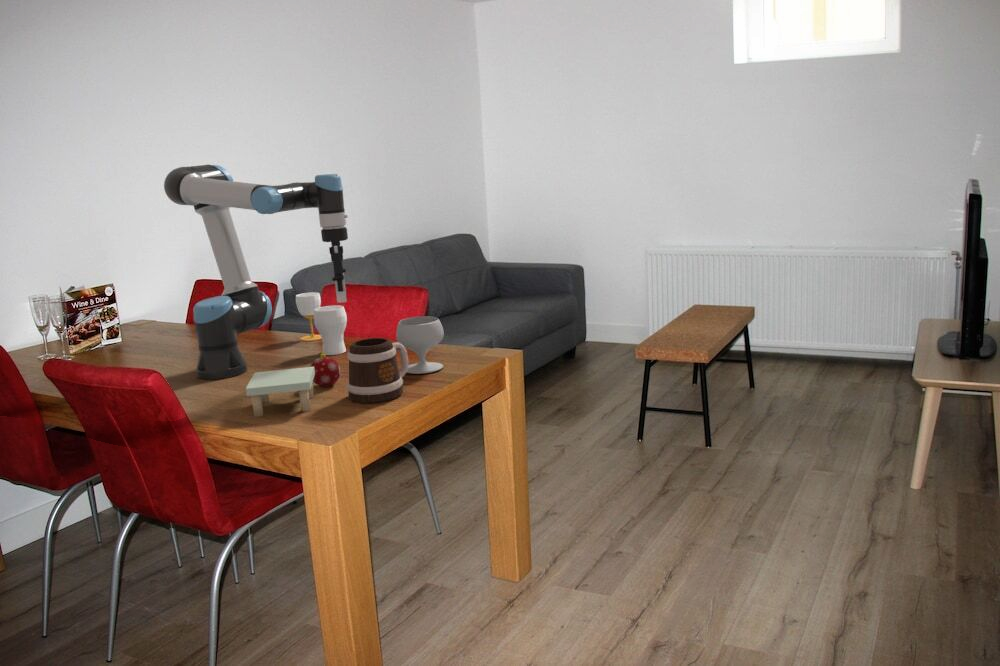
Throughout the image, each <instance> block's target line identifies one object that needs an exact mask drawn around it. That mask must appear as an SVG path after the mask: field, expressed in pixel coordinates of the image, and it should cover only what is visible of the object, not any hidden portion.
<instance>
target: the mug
mask: <svg viewBox="0 0 1000 666" xmlns="http://www.w3.org/2000/svg"><path fill="white" fill-rule="evenodd" d="M397 351H398V352H399V354H400V356H399V357H400V364H401V367H400V370H399V366H398V362H397V357H396V355H397ZM346 358H347V359H348V382H347V385H346V389H347V391H348V398H349V399H350V400H351V401H352V402H354V401H355V403H357V402H358V404H377V403H376V402H379V403H383V402H384V401H385V402H388V401H393V400H395V399H397V398H398V397H400V396H401V395H402V394H403V391H404V387H403V384H404V379H403V377H405V375H406V374H407V373H406V372H407V370H408V366H409V356H408V351H407V348H405V347H404V346H403V345H402V344H400V343H399V342H398V341H396V342H392V341H391V340H390V339H388V338H385V337H384V338H383V337H371V338H365V339H360V340H356V341H354V342H352V343H351V344H350V346H349V349H348V351H347V355H346Z"/></svg>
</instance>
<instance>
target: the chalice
mask: <svg viewBox="0 0 1000 666" xmlns="http://www.w3.org/2000/svg"><path fill="white" fill-rule="evenodd" d="M444 335H445V333H444V327H443V325H442V323H441V321H440V319H439V318H438V317H437V316H430V315H426V316H420V315H419V316H413V317H407V318H403V319H401V320H400V321H399V322H398V323H397V328H396V333H395V338H396V342H399V343H400V344H402V345H403V346H404V347H405V349H406V350H410V351H412V352H414V353H415V354H416V355H417V356H418V359H419V360H418V362H416V363H412V364H408V370H407V372H406V373H405V374H412V375H413V374H414V375H419V374H420V375H421V374H430V373H435V372H438V371H441V370H442V369H443V368H444V366H445V365H444V364H442V363H439V362H436V361H435V362H434V361H433V362H432V361H427V360H426V356H427V353H428V352H429V351H430V350H432V349H433V348H434V347H435V346H437V345H439V343H441V342H442V340H443V338H444Z"/></svg>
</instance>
